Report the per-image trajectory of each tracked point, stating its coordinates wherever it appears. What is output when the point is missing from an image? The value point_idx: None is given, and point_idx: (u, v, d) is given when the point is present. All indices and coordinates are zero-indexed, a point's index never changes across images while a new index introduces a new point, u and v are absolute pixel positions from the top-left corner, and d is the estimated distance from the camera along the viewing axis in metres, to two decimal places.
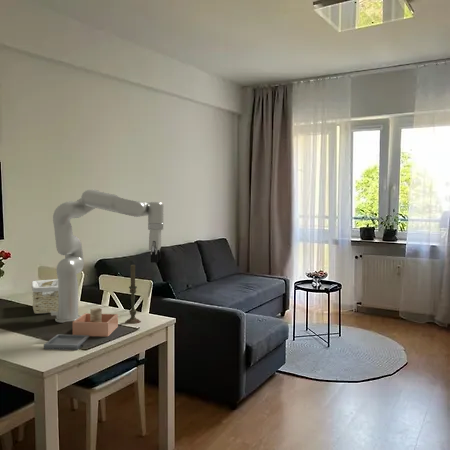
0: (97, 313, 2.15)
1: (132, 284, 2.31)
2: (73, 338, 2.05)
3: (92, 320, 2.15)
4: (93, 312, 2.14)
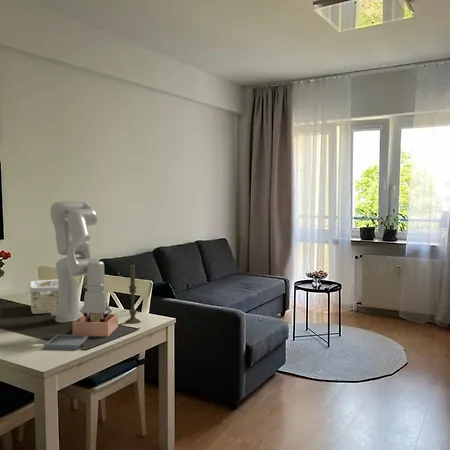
0: None
1: (132, 284, 2.32)
2: (73, 338, 2.05)
3: (92, 320, 2.15)
4: None
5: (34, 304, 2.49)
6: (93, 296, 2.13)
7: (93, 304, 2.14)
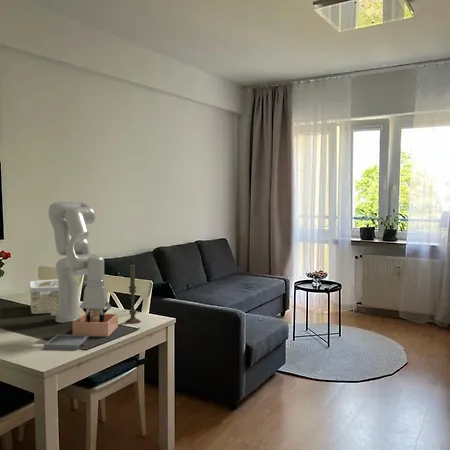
0: None
1: (132, 284, 2.31)
2: (73, 338, 2.05)
3: (92, 316, 2.15)
4: None
5: (34, 304, 2.49)
6: (93, 291, 2.14)
7: (93, 300, 2.14)
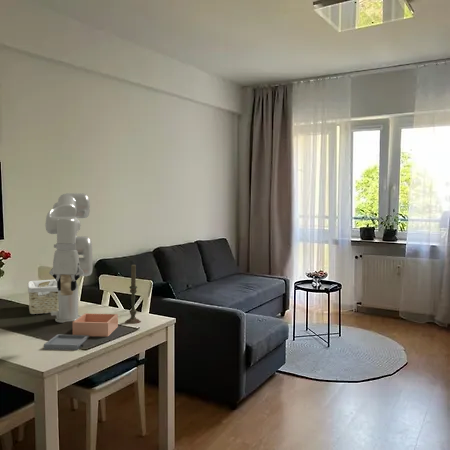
0: None
1: (132, 284, 2.31)
2: (73, 338, 2.05)
3: (62, 282, 1.97)
4: None
5: (32, 304, 2.48)
6: (63, 255, 1.96)
7: (63, 264, 1.96)
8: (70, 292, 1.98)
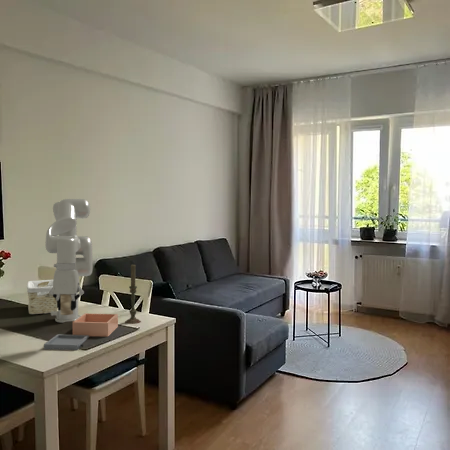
0: None
1: (132, 284, 2.32)
2: (73, 338, 2.05)
3: (62, 302, 1.97)
4: None
5: (31, 304, 2.48)
6: (63, 275, 1.96)
7: (63, 284, 1.96)
8: (70, 312, 1.98)
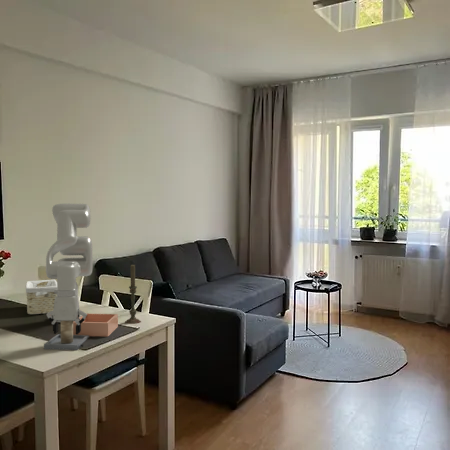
0: (67, 323, 1.98)
1: (132, 284, 2.31)
2: (73, 338, 2.05)
3: (62, 330, 1.98)
4: (63, 322, 1.98)
5: (30, 304, 2.48)
6: (64, 301, 1.97)
7: (63, 311, 1.97)
8: (70, 340, 1.99)
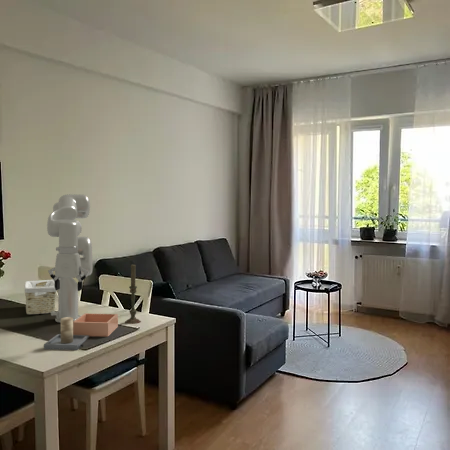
0: (67, 323, 1.98)
1: (132, 284, 2.32)
2: (73, 338, 2.05)
3: (63, 330, 1.98)
4: (63, 322, 1.98)
5: (28, 305, 2.48)
6: (65, 258, 1.98)
7: (65, 267, 1.98)
8: (70, 340, 1.99)
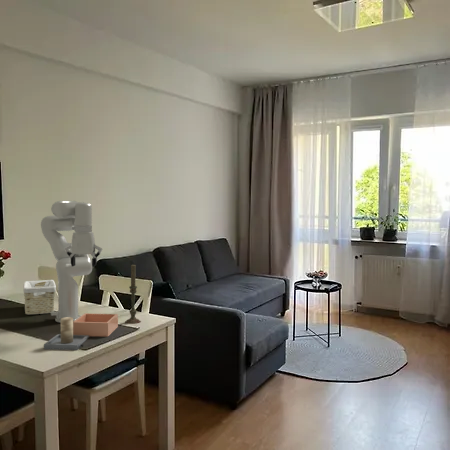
0: (67, 323, 1.98)
1: (132, 284, 2.31)
2: (73, 338, 2.05)
3: (63, 330, 1.98)
4: (63, 322, 1.98)
5: (27, 305, 2.47)
6: (81, 236, 2.16)
7: (81, 245, 2.16)
8: (70, 340, 1.99)
